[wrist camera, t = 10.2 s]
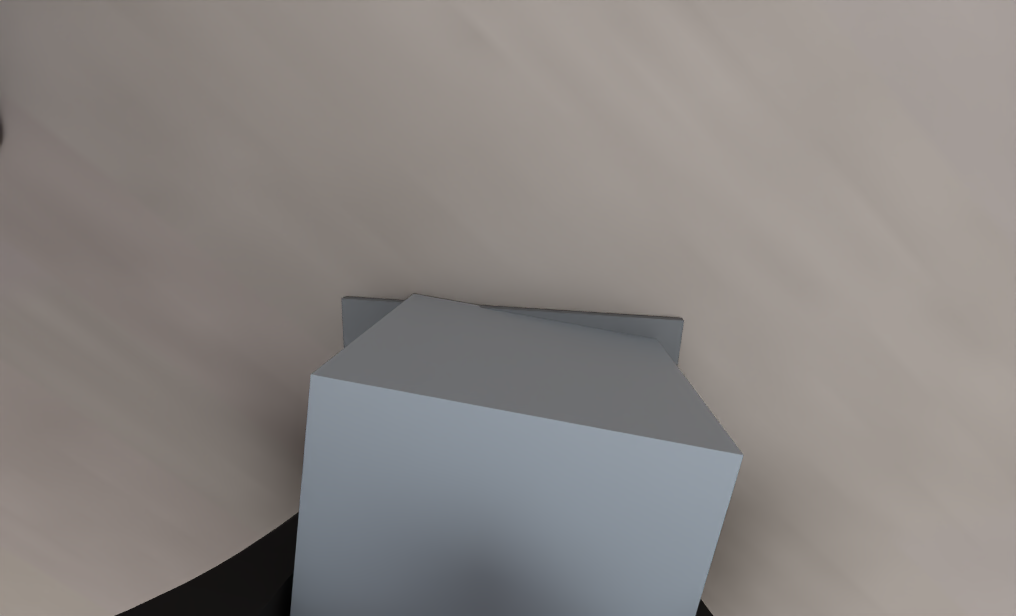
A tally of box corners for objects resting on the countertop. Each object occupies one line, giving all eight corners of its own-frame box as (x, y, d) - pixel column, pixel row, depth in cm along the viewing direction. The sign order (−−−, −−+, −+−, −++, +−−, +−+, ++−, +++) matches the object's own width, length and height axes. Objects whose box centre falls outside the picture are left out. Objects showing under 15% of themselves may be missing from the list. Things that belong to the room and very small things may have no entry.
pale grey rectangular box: (373, 606, 14) (269, 857, 9) (413, 293, 12) (310, 374, 7) (579, 647, 14) (600, 930, 9) (655, 337, 12) (743, 454, 7)
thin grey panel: (359, 623, 15) (357, 629, 15) (344, 296, 13) (341, 298, 12) (634, 652, 15) (634, 659, 15) (681, 318, 12) (683, 320, 12)
